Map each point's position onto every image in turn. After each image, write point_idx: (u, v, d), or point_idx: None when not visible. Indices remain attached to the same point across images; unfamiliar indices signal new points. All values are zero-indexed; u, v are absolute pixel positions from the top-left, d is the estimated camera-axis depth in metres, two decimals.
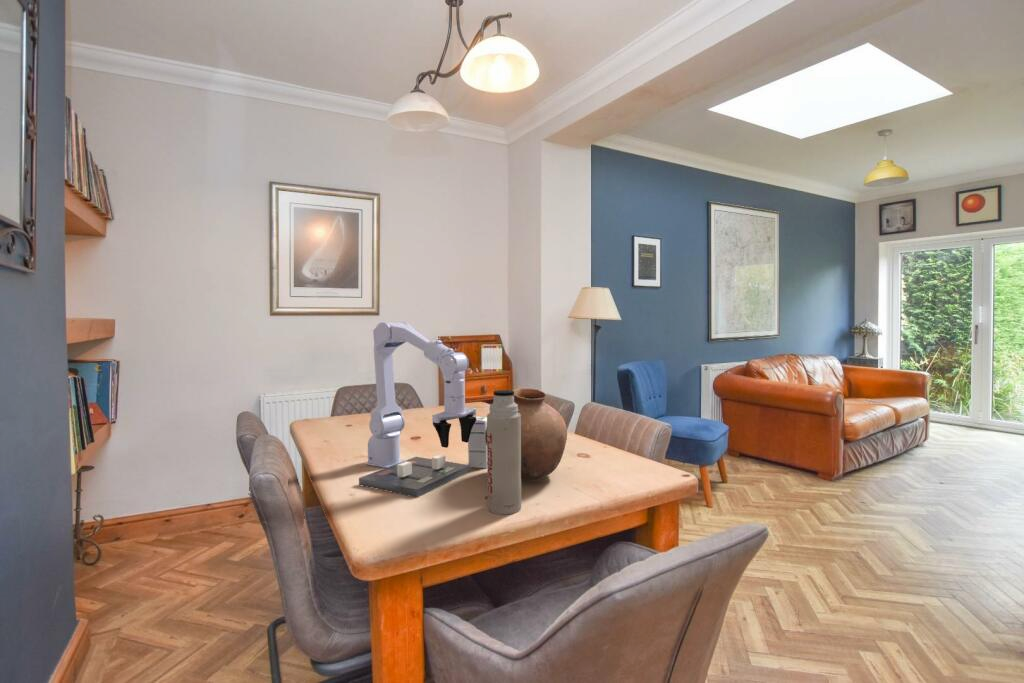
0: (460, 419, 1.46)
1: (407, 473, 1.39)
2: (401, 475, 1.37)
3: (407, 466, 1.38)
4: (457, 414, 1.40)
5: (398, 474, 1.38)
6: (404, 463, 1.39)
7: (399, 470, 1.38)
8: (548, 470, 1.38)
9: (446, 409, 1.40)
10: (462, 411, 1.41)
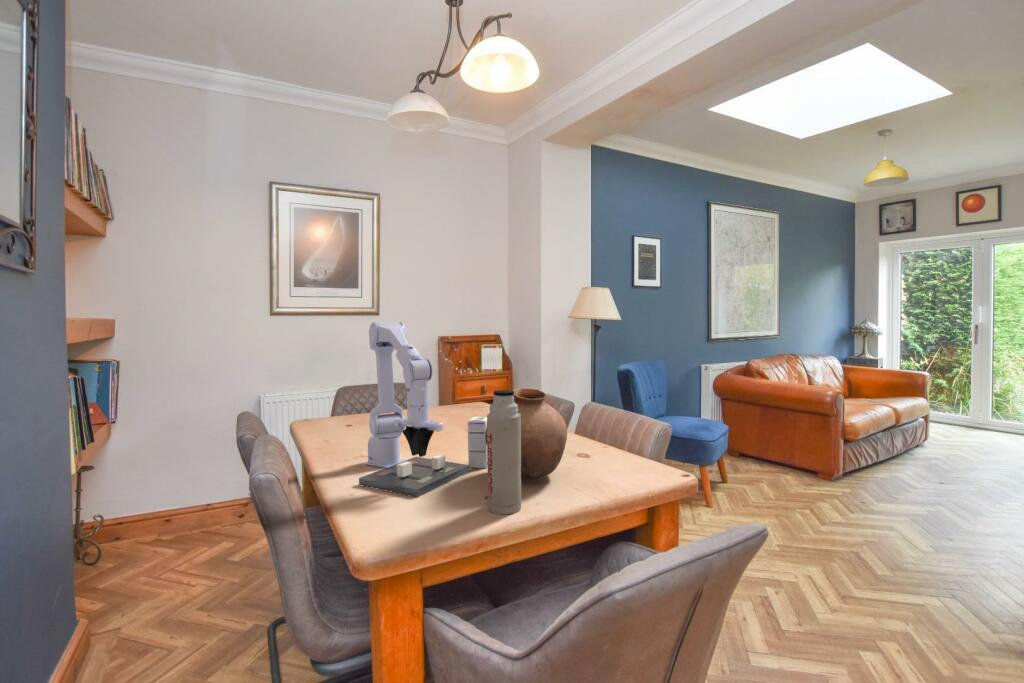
0: None
1: (407, 473, 1.39)
2: (401, 475, 1.37)
3: (407, 466, 1.38)
4: None
5: (398, 474, 1.38)
6: (404, 463, 1.39)
7: (399, 470, 1.38)
8: (548, 470, 1.38)
9: None
10: (412, 421, 1.33)
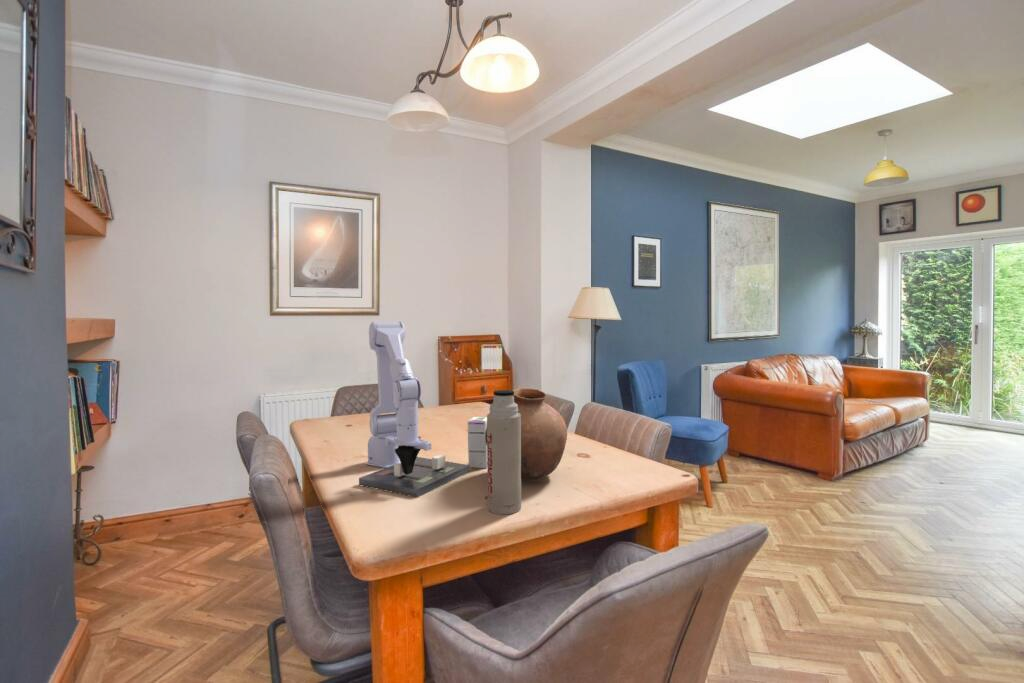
0: None
1: None
2: (397, 474, 1.38)
3: None
4: None
5: (395, 473, 1.38)
6: None
7: (396, 469, 1.38)
8: (548, 470, 1.38)
9: None
10: (401, 440, 1.36)
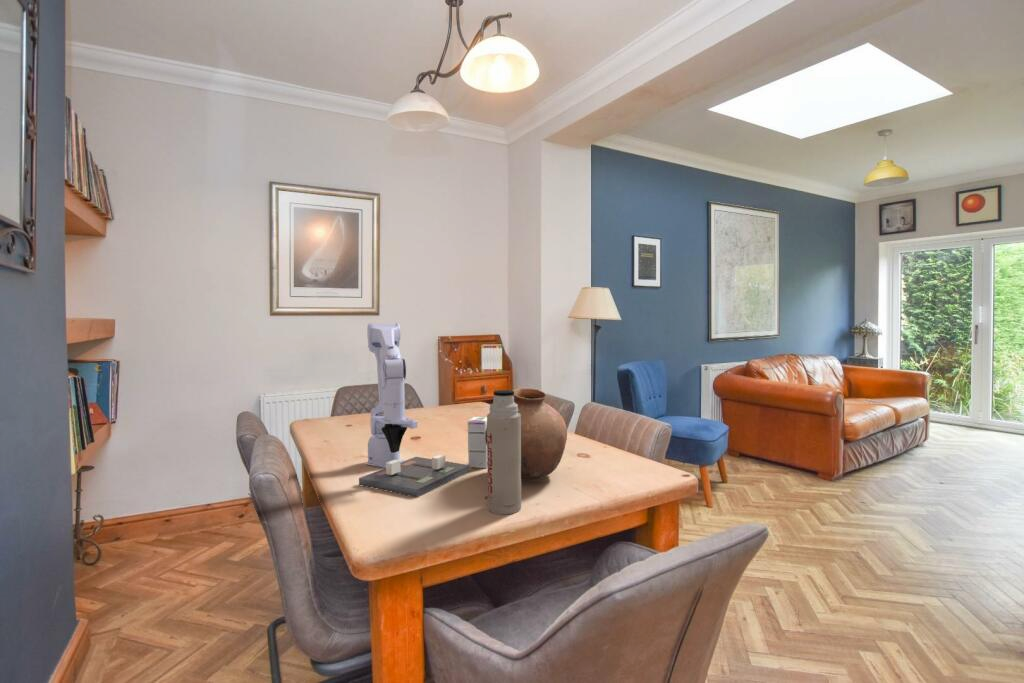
0: None
1: (396, 471, 1.41)
2: (389, 473, 1.39)
3: (395, 464, 1.40)
4: (383, 420, 1.39)
5: (387, 472, 1.40)
6: (393, 461, 1.41)
7: (388, 468, 1.40)
8: (548, 470, 1.38)
9: None
10: (388, 419, 1.38)
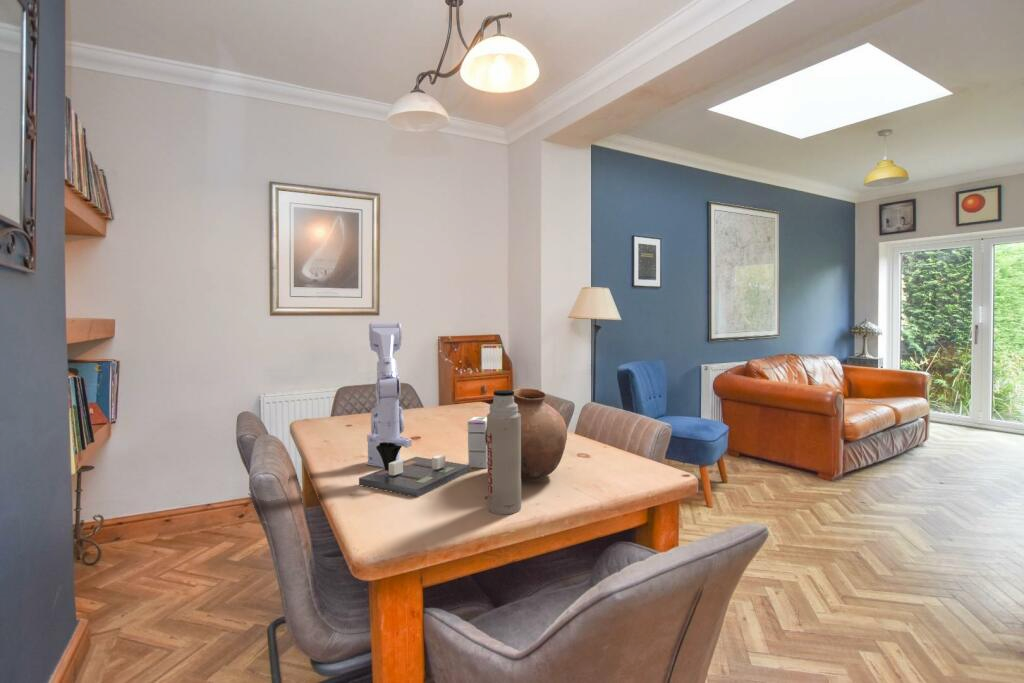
0: None
1: (398, 471, 1.40)
2: (392, 473, 1.39)
3: (398, 464, 1.40)
4: None
5: (389, 472, 1.39)
6: (395, 462, 1.41)
7: (390, 468, 1.39)
8: (548, 470, 1.38)
9: None
10: (382, 437, 1.39)
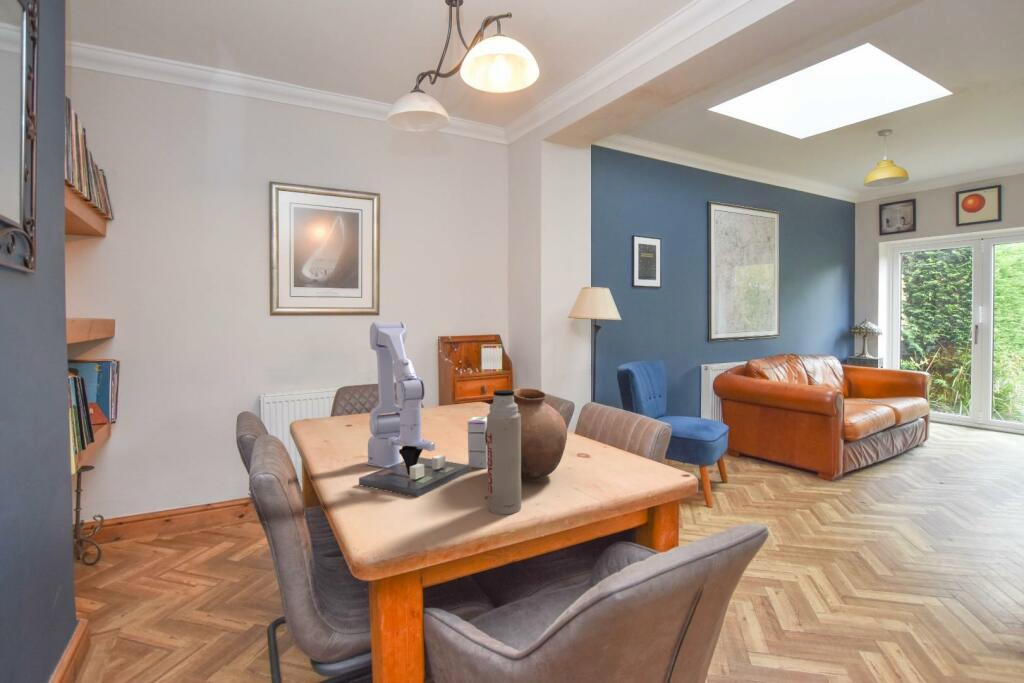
0: None
1: (419, 475, 1.37)
2: (413, 477, 1.35)
3: (419, 468, 1.36)
4: (400, 442, 1.36)
5: (410, 476, 1.36)
6: (416, 465, 1.37)
7: (411, 472, 1.36)
8: (548, 470, 1.38)
9: None
10: (405, 441, 1.35)
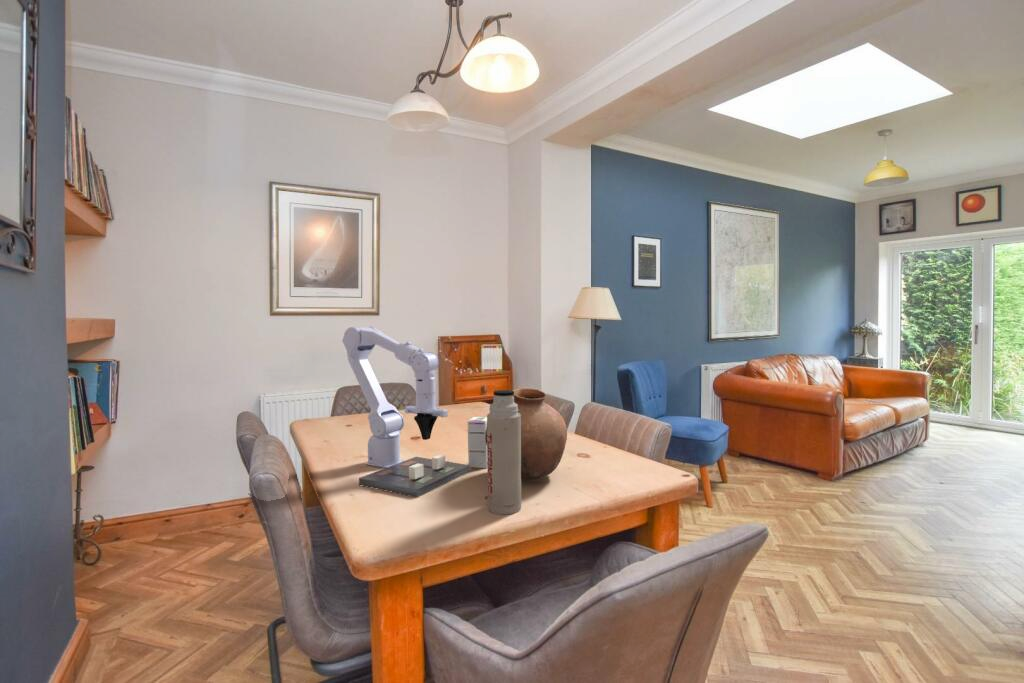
0: None
1: (419, 475, 1.37)
2: (412, 477, 1.36)
3: (418, 468, 1.37)
4: (416, 410, 1.49)
5: (410, 476, 1.36)
6: (416, 465, 1.37)
7: (411, 472, 1.36)
8: (548, 470, 1.38)
9: None
10: (420, 408, 1.48)
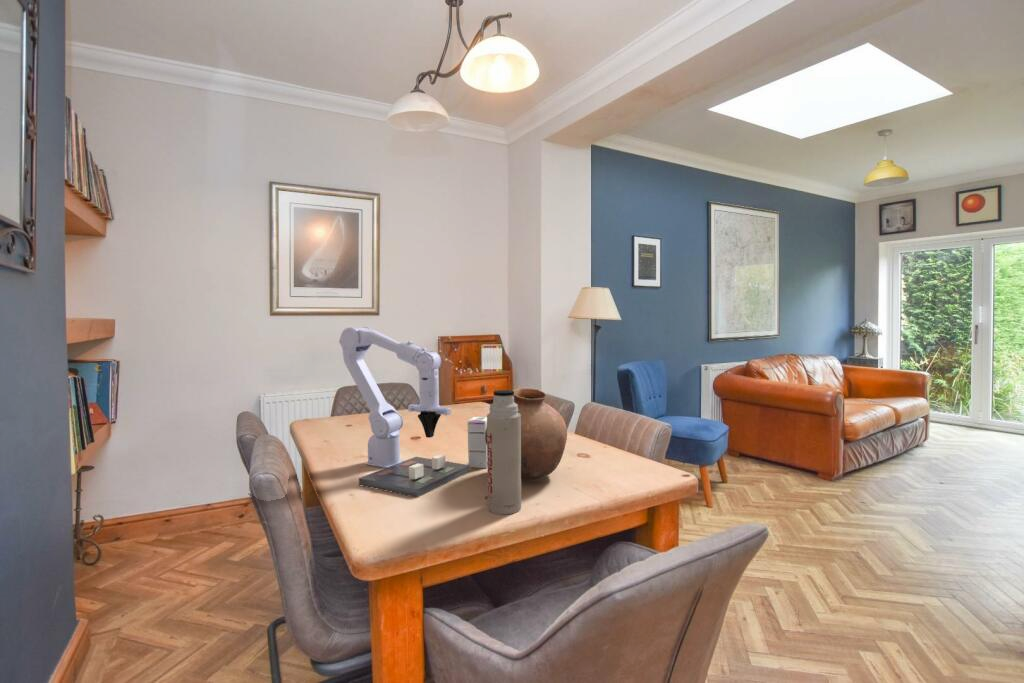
0: None
1: (419, 475, 1.37)
2: (412, 477, 1.36)
3: (418, 468, 1.37)
4: (419, 408, 1.51)
5: (410, 476, 1.36)
6: (416, 465, 1.37)
7: (411, 472, 1.36)
8: (548, 470, 1.38)
9: None
10: (424, 406, 1.50)
